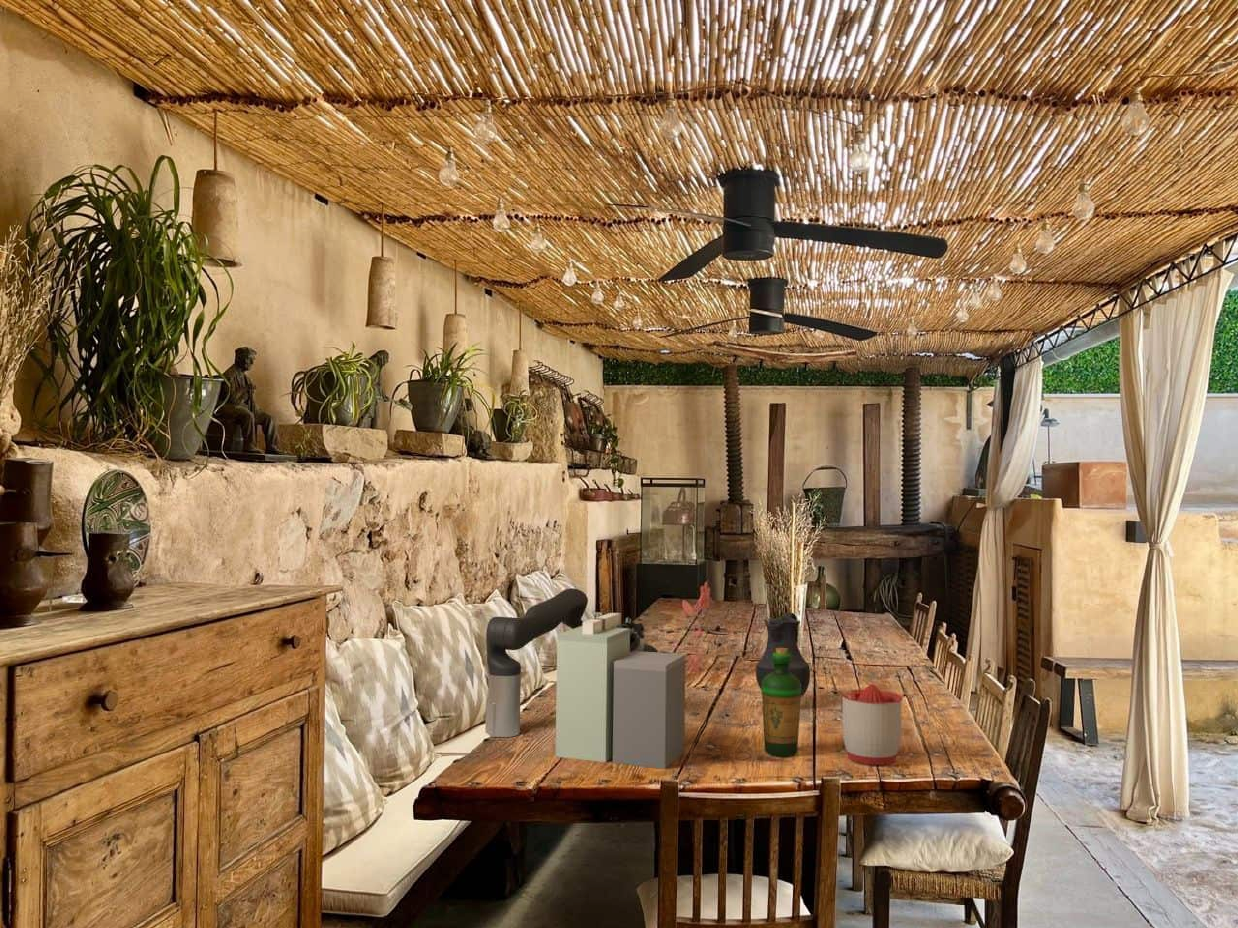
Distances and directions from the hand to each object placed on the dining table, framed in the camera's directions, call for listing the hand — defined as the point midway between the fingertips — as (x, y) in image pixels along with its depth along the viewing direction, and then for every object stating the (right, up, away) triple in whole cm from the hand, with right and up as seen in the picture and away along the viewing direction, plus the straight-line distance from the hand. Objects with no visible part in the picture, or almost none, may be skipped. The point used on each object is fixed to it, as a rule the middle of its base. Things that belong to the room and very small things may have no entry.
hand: (612, 619), depth 276 cm
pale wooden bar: (-3, -1, -8) cm, 9 cm away
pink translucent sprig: (+35, -37, +99) cm, 111 cm away
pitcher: (+56, -35, +42) cm, 79 cm away
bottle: (+45, -34, -15) cm, 58 cm away
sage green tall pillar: (-5, -33, -14) cm, 36 cm away
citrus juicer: (+68, -34, -20) cm, 78 cm away
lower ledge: (+10, -33, -20) cm, 40 cm away
